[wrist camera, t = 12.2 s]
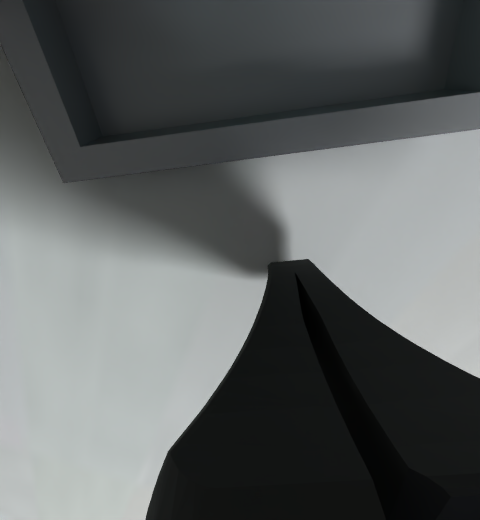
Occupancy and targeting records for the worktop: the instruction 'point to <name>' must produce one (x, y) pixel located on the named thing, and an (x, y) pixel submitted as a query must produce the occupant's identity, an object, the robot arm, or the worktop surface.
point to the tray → (237, 77)
